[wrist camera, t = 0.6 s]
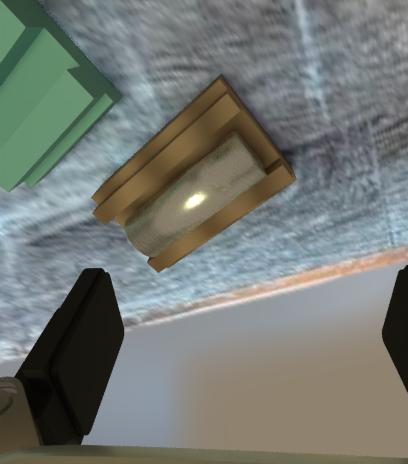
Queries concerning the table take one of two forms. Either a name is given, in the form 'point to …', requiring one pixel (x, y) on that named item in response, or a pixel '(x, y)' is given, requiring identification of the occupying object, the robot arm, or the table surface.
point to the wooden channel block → (186, 154)
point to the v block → (43, 94)
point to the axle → (195, 195)
